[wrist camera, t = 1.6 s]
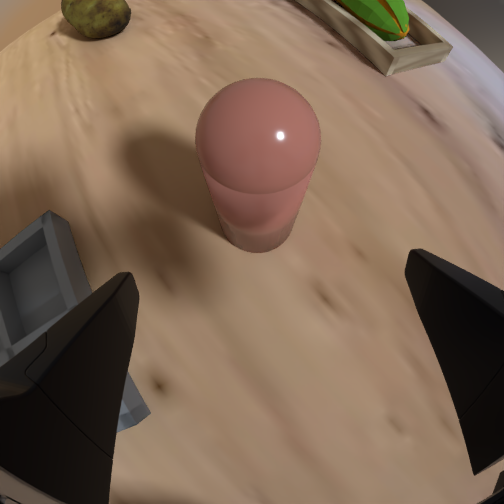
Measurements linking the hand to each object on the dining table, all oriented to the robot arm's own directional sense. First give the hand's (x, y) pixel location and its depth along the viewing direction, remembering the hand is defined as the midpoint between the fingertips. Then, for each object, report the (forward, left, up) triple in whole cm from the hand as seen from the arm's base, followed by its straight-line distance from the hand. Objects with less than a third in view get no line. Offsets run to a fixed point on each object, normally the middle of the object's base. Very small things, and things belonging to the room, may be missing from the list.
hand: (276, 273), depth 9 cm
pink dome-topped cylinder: (+6, -3, -12) cm, 14 cm away
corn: (+26, -28, -13) cm, 40 cm away
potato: (+42, +1, -13) cm, 43 cm away
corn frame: (+26, -29, -12) cm, 40 cm away
